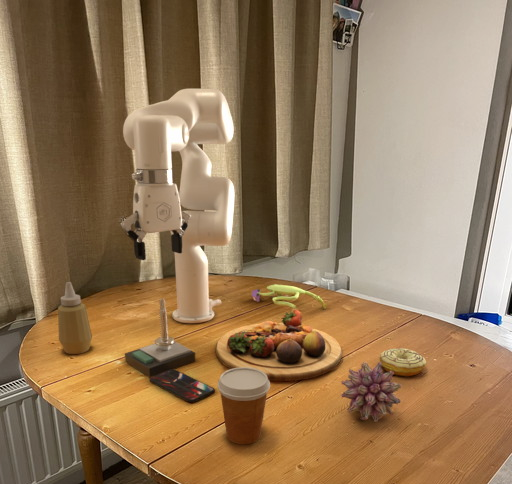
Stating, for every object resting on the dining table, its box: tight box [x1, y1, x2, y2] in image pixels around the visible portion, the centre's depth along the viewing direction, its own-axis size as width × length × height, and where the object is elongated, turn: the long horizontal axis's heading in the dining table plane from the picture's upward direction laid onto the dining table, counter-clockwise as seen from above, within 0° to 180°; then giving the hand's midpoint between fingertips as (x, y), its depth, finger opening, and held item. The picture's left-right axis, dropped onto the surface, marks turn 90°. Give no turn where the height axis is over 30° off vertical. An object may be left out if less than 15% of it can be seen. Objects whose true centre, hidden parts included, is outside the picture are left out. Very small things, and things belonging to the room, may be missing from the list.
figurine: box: [251, 283, 328, 310], centre depth 163 cm, size 18×27×6 cm
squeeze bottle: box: [57, 281, 93, 355], centre depth 125 cm, size 8×8×18 cm
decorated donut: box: [379, 347, 427, 377], centre depth 120 cm, size 10×11×4 cm
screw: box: [154, 298, 176, 351], centre depth 120 cm, size 13×5×5 cm
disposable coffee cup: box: [216, 367, 271, 445], centre depth 91 cm, size 10×10×12 cm
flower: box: [340, 361, 403, 423], centre depth 98 cm, size 12×12×12 cm
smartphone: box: [149, 368, 216, 403], centre depth 111 cm, size 7×1×15 cm
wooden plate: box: [215, 309, 343, 382], centre depth 126 cm, size 32×32×8 cm
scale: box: [124, 341, 196, 378], centre depth 122 cm, size 13×11×3 cm
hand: (159, 255), depth 114 cm, fingers open, 9 cm apart
